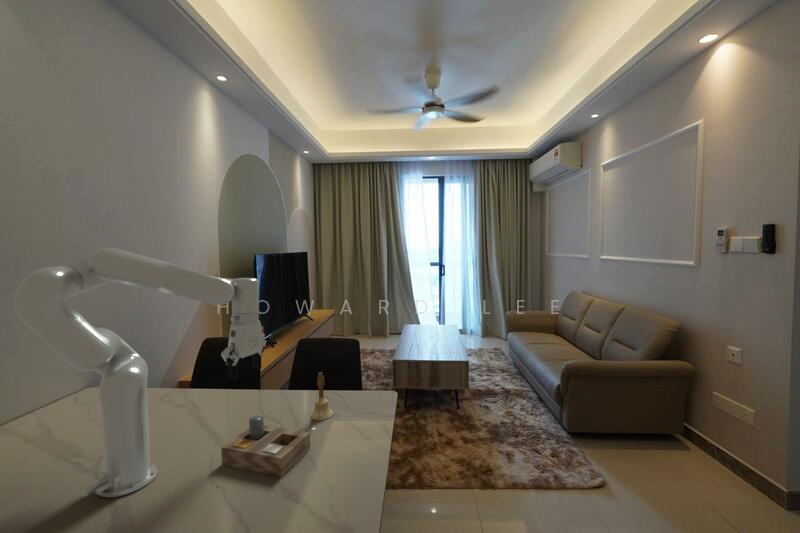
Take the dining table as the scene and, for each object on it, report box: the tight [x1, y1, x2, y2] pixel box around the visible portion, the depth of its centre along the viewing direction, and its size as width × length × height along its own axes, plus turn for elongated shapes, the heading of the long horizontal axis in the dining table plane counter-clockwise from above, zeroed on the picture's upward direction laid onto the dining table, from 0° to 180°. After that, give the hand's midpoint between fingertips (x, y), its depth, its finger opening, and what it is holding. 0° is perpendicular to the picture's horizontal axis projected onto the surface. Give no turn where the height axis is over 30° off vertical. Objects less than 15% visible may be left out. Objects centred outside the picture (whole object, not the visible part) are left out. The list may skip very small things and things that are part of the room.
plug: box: [248, 415, 265, 441], centre depth 105 cm, size 4×4×9 cm
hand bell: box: [310, 371, 334, 421], centre depth 129 cm, size 8×8×16 cm
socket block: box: [220, 425, 311, 477], centre depth 103 cm, size 20×14×5 cm
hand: (245, 373), depth 107 cm, fingers open, 9 cm apart
